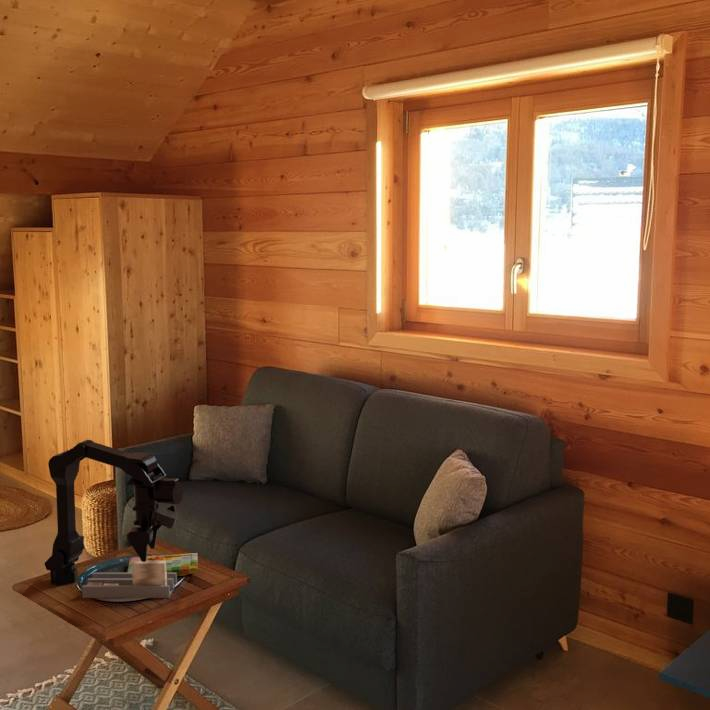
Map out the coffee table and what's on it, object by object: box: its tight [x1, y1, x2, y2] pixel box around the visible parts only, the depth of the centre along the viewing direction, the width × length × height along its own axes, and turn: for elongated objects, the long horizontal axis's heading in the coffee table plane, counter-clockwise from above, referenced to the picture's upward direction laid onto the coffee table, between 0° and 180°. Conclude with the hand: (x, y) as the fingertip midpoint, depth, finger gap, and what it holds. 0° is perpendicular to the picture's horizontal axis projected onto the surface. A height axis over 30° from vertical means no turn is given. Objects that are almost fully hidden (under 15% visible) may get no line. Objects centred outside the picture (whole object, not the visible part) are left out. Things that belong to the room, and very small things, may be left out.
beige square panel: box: [132, 561, 167, 585], centre depth 244 cm, size 9×2×9 cm, turn 89°
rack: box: [81, 571, 178, 599], centre depth 246 cm, size 24×10×4 cm, turn 89°
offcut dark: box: [86, 582, 103, 585], centre depth 245 cm, size 4×2×2 cm, turn 89°
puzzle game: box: [126, 552, 199, 577], centre depth 260 cm, size 12×5×20 cm
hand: (148, 555), depth 243 cm, fingers open, 9 cm apart
